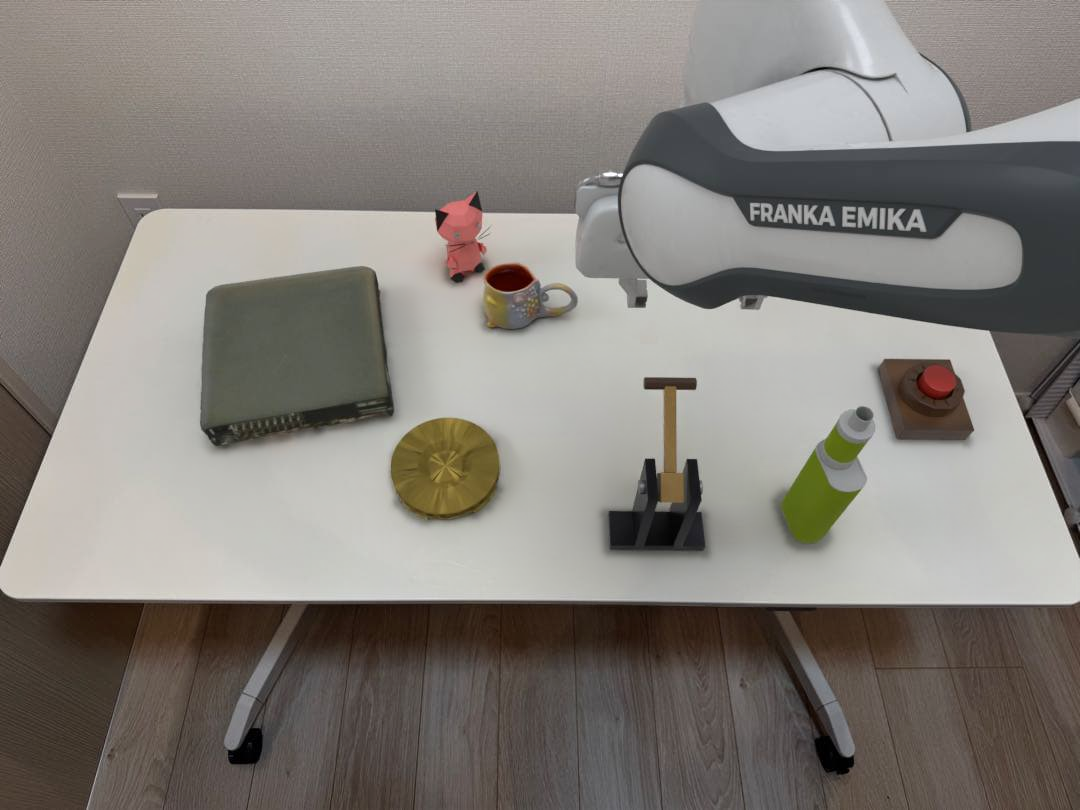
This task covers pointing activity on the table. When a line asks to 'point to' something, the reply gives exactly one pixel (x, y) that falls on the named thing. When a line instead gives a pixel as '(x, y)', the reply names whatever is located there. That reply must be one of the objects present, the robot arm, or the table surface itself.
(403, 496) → the gold round metal disc
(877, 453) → the table surface
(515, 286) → the mug
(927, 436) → the button block
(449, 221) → the cat figurine
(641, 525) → the switch bracket
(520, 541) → the table surface
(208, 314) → the network switch
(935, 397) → the button
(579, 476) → the table surface
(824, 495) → the vape
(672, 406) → the switch lever
